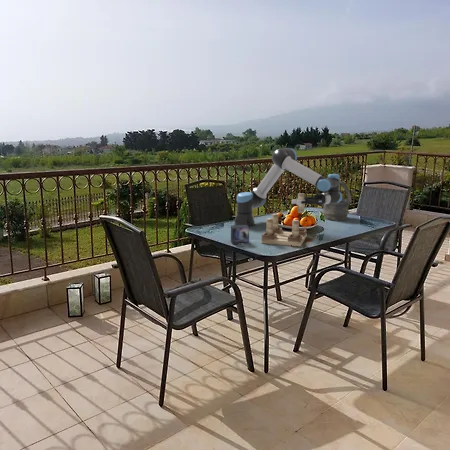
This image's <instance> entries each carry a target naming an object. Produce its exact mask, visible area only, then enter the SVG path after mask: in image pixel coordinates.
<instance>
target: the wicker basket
mask: <svg viewBox="0 0 450 450" xmlns="http://www.w3.org/2000/svg"><path fill="white" fill-rule="evenodd" d="M347 185H348V184H346V183H345V182H344V181H342V180H340V182H339V186H342V187H343V189H344V191H345V193H346V194H345V195H346V198H342V200H341V201H340V202H339V203H333V204H326V205H322V207H323V208H322V210H321V213H322V215H323V214H324V216H325V220H327V219H328V220H327V221H336V220H338V221H344V220H345V221H346V220H348V215H349V214H350V212H349V205H350V204H352V195H351V191H350V189H349V187H348V186H347ZM322 193H327V191H322Z"/></svg>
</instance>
